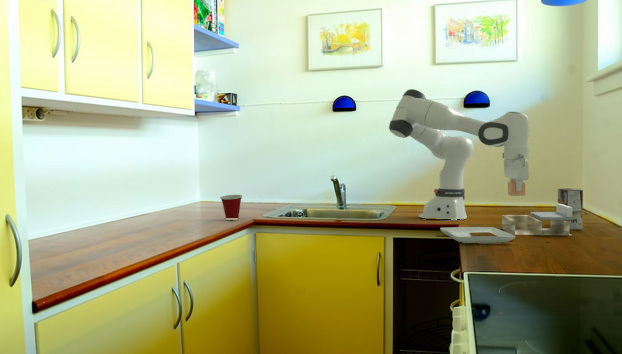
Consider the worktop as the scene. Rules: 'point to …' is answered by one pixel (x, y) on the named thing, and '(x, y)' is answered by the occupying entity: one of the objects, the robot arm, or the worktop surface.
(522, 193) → the terracotta block
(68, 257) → the worktop surface
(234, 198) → the plastic cup
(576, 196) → the coffee box
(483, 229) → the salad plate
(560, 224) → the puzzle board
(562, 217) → the sliding roof
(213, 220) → the worktop surface
